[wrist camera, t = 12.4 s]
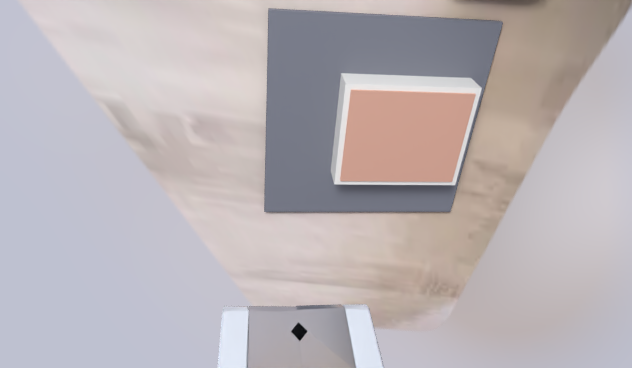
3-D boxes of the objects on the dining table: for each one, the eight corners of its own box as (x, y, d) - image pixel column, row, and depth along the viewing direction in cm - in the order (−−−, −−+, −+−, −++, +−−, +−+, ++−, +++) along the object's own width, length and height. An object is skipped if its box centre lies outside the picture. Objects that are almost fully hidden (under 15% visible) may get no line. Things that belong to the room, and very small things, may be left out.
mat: (268, 8, 39) (268, 10, 38) (499, 20, 41) (502, 22, 41) (264, 208, 49) (264, 211, 49) (448, 208, 52) (450, 211, 52)
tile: (346, 84, 40) (482, 89, 41) (341, 73, 42) (471, 77, 43) (334, 185, 45) (455, 186, 46) (330, 170, 47) (446, 171, 49)
